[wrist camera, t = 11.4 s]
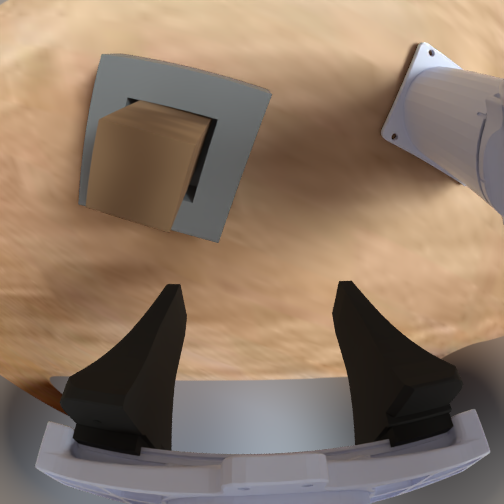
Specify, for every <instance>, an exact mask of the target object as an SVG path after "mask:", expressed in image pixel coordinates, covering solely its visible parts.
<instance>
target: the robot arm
mask: <svg viewBox="0 0 504 504" xmlns="http://www.w3.org/2000/svg"><path fill="white" fill-rule="evenodd" d="M429 50H431V52H432V55H431V56H430V55H429ZM393 134H396V137H395V139H392V135H393ZM381 136H382V138H384V139H385V140H387V141H389V142H391V143H393V144H394V145H396V146H398V147H400V148H402V149H404V150H406V151H407V152H409V153H411V154H413V155H415V156H416V157H418V158H420V159H422V160H423V161H425V162H427V163H429V164H430V165H432V166H434V167H435V168H437V169H439V170H440V171H442V172H444V173H445V174H447V175H448V176H450V177H452V178H453V179H455V180H456V181H458V182H459V183H461V184H462V185H464V186H467V187H469V188H470V189H471V190H472V191H474V192H475V193H476V194H477V195H478V196H480V197H481V198H482V199H483V200H484V201H486V202H487V203H488V204H489V205H490V206H491V207H493V208H494V209H495V210H496V211H497V212H498V213H499V214H501V216H502V219H503V224H504V79H502V78H498V77H494V76H490V75H486V74H481V73H477V72H472V71H467V70H463V69H462V68H460V67H459V66H458V65H457V64H455V63H454V62H453V61H451V60H450V59H449V58H447V57H446V56H445V55H443V54H442V53H441V52H439V51H438V50H437V49H435V48H434V47H432V46H431V45H429V44H428V43H419V45H418V47H417V49H416V52H415V54H414V57H413V59H412V62H411V64H410V66H409V69H408V71H407V74H406V76H405V78H404V81H403V83H402V85H401V88H400V90H399V92H398V94H397V97H396V99H395V101H394V104H393V106H392V108H391V110H390V112H389V115H388V117H387V119H386V121H385V123H384V126H383V128H382V130H381ZM332 315H333V321H334V327H335V333H336V336H337V339H338V343H339V346H340V350H341V353H342V357H343V360H344V363H345V367H346V370H347V375H348V379H349V386H350V392H351V400H352V408H353V419H354V432H355V445H353V446H347V447H340V448H333V449H324V450H315V451H305V452H293V453H275V454H207V453H191V452H179V451H171V438H172V436H171V433H172V411H173V397H174V386H175V379H176V373H177V369H178V364H179V360H180V355H181V351H182V346H183V342H184V337H185V330H186V320H187V314H186V310H185V305H184V300H183V295H182V290H181V285H180V284H167V285H166V286H165V288H164V289H163V291H162V292H161V293H160V295H159V296H158V298H157V299H156V300H155V302H154V303H153V304H152V306H151V307H150V308H149V310H148V311H147V312H146V313H145V315H144V316H143V317H142V318H141V319H140V321H139V322H138V323H137V324H136V325H135V326H134V328H133V329H132V330H131V331H130V332H129V333H128V334H127V335H126V336H125V337H124V338H123V339H122V340H121V341H120V342H119V343H118V344H117V345H116V346H114V347H113V348H112V349H111V350H110V351H108V352H107V353H106V354H105V355H103V356H102V357H101V358H99V359H98V360H97V361H95V362H94V363H92V364H91V365H89V366H88V367H86V368H84V369H83V370H81V371H79V372H77V373H76V374H74V375H72V376H70V377H69V379H68V381H67V384H66V386H65V389H64V392H63V395H62V398H61V401H60V404H61V407H62V408H63V410H64V411H65V412H66V413H67V414H68V415H69V416H70V417H71V418H72V419H73V420H74V421H75V422H76V423H77V424H76V427H75V429H73V428H71V427H69V426H66V425H62V424H58V423H55V422H51V421H50V422H48V424H47V427H46V430H45V434H44V437H43V440H42V444H41V447H40V450H39V454H38V457H37V461H36V465H35V467H36V468H37V469H38V470H40V471H42V472H43V473H45V474H46V475H48V476H50V477H51V478H53V479H55V480H57V481H58V482H60V483H62V484H64V485H66V486H69V487H72V488H75V489H79V490H82V491H85V492H88V493H91V494H95V495H98V496H101V497H105V498H109V499H112V500H116V501H120V502H123V503H127V504H370V503H373V502H377V501H380V500H384V499H387V498H391V497H394V496H397V495H400V494H403V493H407V492H410V491H412V490H415V489H418V488H421V487H424V486H427V485H429V484H432V483H435V482H437V481H440V480H443V479H445V478H448V477H450V476H453V475H455V474H458V473H460V472H462V471H464V470H465V469H467V468H468V467H470V466H471V465H473V464H475V463H476V462H477V461H479V460H480V459H482V458H483V457H485V456H486V455H487V454H489V453H490V449H489V446H488V443H487V440H486V437H485V434H484V431H483V429H482V426H481V423H480V421H479V418H478V416H477V413H476V410H475V409H472V410H469V411H466V412H463V413H460V414H457V415H455V416H453V417H452V418H451V417H450V414H449V412H451V406H450V404H449V403H450V402H451V401H452V400H453V399H454V398H455V396H456V395H457V394H458V393H459V392H460V390H461V388H462V385H463V382H462V380H461V377H460V375H459V373H458V371H457V369H456V367H455V366H454V365H452V364H450V363H448V362H446V361H444V360H442V359H439V358H438V357H436V356H434V355H432V354H431V353H429V352H427V351H426V350H424V349H423V348H421V347H420V346H418V345H417V344H415V343H414V342H412V341H411V340H410V339H408V338H407V337H406V336H405V335H403V334H402V333H401V332H400V331H399V330H397V329H396V328H395V327H394V326H393V325H392V324H391V323H390V322H389V321H388V320H387V319H385V318H384V317H383V316H382V315H381V314H380V312H379V311H378V310H377V309H376V308H375V307H374V306H373V305H372V304H371V303H370V302H369V300H368V299H367V298H366V297H365V296H364V295H363V293H362V292H361V291H360V290H359V289H358V288H357V287H356V285H355V284H354V283H353V282H352V281H339V284H338V289H337V293H336V298H335V303H334V307H333V312H332Z"/></svg>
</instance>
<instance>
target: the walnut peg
mask: <svg viewBox="0 0 504 504" xmlns="http://www.w3.org/2000/svg"><path fill="white" fill-rule="evenodd" d="M212 120H213V118H211V117H207V116H203V115H200V114H196V113H192V112H189V111H185V110H181V109H177V108H173V107H169V106H164V105H160V104H156V103H151V102H147V101H142V100H140V101H137V102H135V103H133V104H131V105H128V106H126V107H124V108H122V109H119V110H117V111H115V112H113V113H111V114H109V115H107V116H105V117H103V118H100V119H99V121H98V126H97V131H96V137H95V142H94V148H93V154H92V160H91V167H90V174H89V182H88V190H87V199H86V207H87V208H90V209H93V210H96V211H100V212H103V213H106V214H109V215H113V216H116V217H119V218H122V219H126V220H129V221H132V222H135V223H139V224H142V225H145V226H149V227H152V228H155V229H158V230H162V231H165V232H168V233H170V230H171V228H172V225H173V223H174V220H175V218H176V215H177V213H178V210H179V208H180V205H181V203H182V201H183V198H184V196H185V193H186V191H187V189H188V186H189V184H190V182H191V179H192V177H193V175H194V173H195V170H196V167H197V164H198V161H199V158H200V155H201V152H202V149H203V146H204V143H205V140H206V137H207V134H208V131H209V128H210V125H211V123H212Z"/></svg>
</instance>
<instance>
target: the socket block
mask: <svg viewBox="0 0 504 504" xmlns="http://www.w3.org/2000/svg"><path fill="white" fill-rule="evenodd" d="M271 96H272V94H271V92H270V91H269V90H268V89H265V88H262V87H259V86H256V85H253V84H249V83H246V82H243V81H240V80H236V79H233V78H230V77H226V76H223V75H219V74H215V73H212V72H208V71H204V70H200V69H196V68H192V67H188V66H183V65H179V64H175V63H170V62H165V61H160V60H155V59H150V58H144V57H139V56H133V55H126V54H102V55H101V59H100V63H99V67H98V71H97V75H96V80H95V84H94V89H93V94H92V99H91V104H90V109H89V115H88V121H87V127H86V134H85V141H84V148H83V157H82V166H81V176H80V188H79V203H78V204H79V205H83V206H86V199H87V190H88V182H89V174H90V167H91V160H92V154H93V148H94V142H95V137H96V131H97V126H98V121H99V119H100V118H103V117H105V116H107V115H109V114H111V113H113V112H115V111H117V110H119V109H122V108H124V107H126V106H128V105H131V104H133V103H135V102H137V101H140V100H142V101H147V102H151V103H156V104H160V105H164V106H169V107H173V108H177V109H181V110H185V111H189V112H192V113H196V114H200V115H203V116H207V117H211V118H213V120H212V123H211V125H210V128H209V131H208V134H207V137H206V140H205V143H204V146H203V149H202V152H201V155H200V158H199V161H198V164H197V167H196V170H195V173H194V175H193V177H192V179H191V182H190V184H189V186H188V189H187V191H186V193H185V196H184V198H183V201H182V203H181V205H180V208H179V210H178V213H177V215H176V218H175V220H174V223H173V225H172V228H171V230H173V231H177V232H180V233H184V234H188V235H191V236H195V237H198V238H202V239H206V240H209V241H213V242H216V243H219V240H220V237H221V234H222V231H223V228H224V225H225V222H226V219H227V216H228V213H229V211H230V208H231V205H232V202H233V199H234V196H235V193H236V191H237V188H238V185H239V182H240V179H241V177H242V174H243V171H244V168H245V165H246V163H247V160H248V157H249V154H250V152H251V149H252V146H253V144H254V141H255V138H256V135H257V133H258V130H259V127H260V125H261V122H262V119H263V117H264V114H265V112H266V109H267V106H268V104H269V101H270V98H271Z"/></svg>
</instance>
